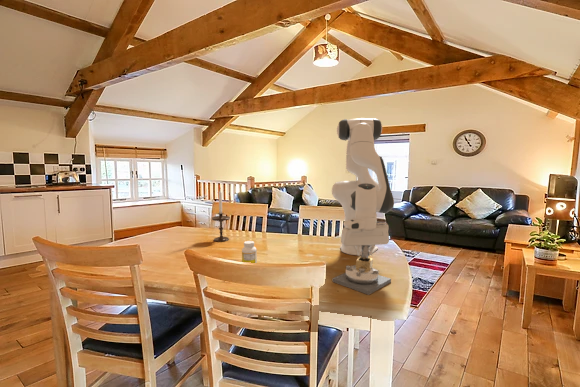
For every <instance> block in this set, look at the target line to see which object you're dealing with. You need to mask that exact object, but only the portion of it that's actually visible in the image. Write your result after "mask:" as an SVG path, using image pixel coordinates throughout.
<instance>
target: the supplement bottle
mask: <svg viewBox="0 0 580 387" xmlns="http://www.w3.org/2000/svg"><path fill="white" fill-rule="evenodd" d="M257 254H258V253H257V247H256V246H255V241H253V240H246V241H244V242H243V247H242V248H241V263H242V262H251V263H257V264H258V258H257V257H258V256H257Z"/></svg>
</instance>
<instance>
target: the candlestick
mask: <svg viewBox="0 0 580 387" xmlns="http://www.w3.org/2000/svg"><path fill="white" fill-rule="evenodd" d="M218 188H219V191H218V211H219V212H217V214H218V216H217V215H216V216H212V217H211V221H216V222H217V221H218V222H219V227H218V230H219V236H218V237H214V238H213V241H214V242H216V243H222V242H223V243H224V242H228V241H229V239H230V238H229V237H228V236H223V234H224V231H223V230H224V227H223V221H229V220H230V218H231V217H230V216H227V215H224V214H225V213H224V212H223V194H222V193H223V192H222V190H221V186H220V185H218Z"/></svg>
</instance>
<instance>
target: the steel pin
mask: <svg viewBox="0 0 580 387" xmlns="http://www.w3.org/2000/svg"><path fill="white" fill-rule="evenodd" d="M361 251H362V256H360V257H361V260H362V261H368V258H369V255H368V254H369V245H362V246H361Z"/></svg>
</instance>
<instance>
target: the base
mask: <svg viewBox="0 0 580 387" xmlns="http://www.w3.org/2000/svg"><path fill="white" fill-rule="evenodd" d="M331 281H332V282H333V283H335V284H338V285H340V286H343V287H346V288H349V289H351V290H354V291H356V292H359V293H362V294H365V295H368V296H370V295H371V294H373V293H375V292H376V291H378V290H380V289H382V288H384V287H386V286H387V285H389V284H391V283H392V278H391V277H387V276H384V275H380V274H378V281H377V282H376V283H373V284H358V283H354V282H351V281H349V280H347V279H346V272H344V273H341V274H339V275H337V276H335V277H332V280H331Z"/></svg>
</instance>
